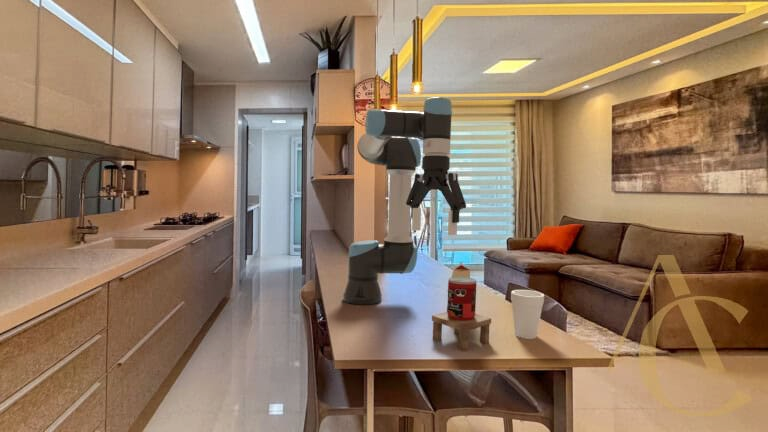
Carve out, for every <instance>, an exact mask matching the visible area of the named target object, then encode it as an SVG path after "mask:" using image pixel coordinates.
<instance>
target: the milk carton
mask: <svg viewBox="0 0 768 432" xmlns="http://www.w3.org/2000/svg"><path fill="white" fill-rule="evenodd" d="M462 264H463V261H460V262H459V265H458V266H457V267H455V268H454V269H453V270H452V274H451V277H469V278H471V270H470V269H469V268H467V267H466V266H464V265H462ZM447 309H448V302H447V305H446V310H447Z"/></svg>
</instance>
